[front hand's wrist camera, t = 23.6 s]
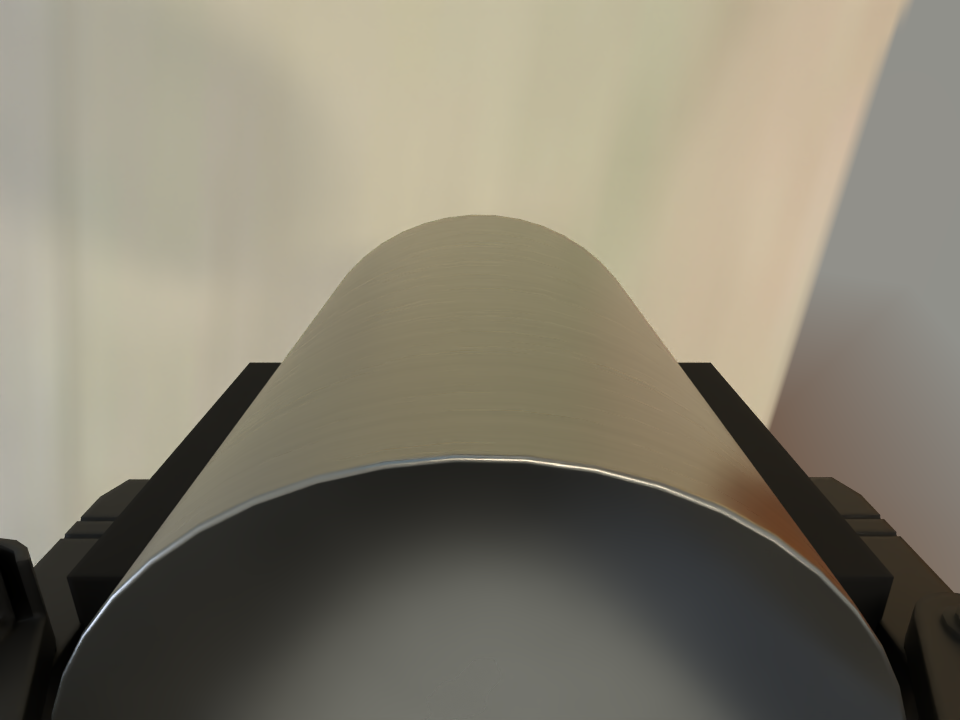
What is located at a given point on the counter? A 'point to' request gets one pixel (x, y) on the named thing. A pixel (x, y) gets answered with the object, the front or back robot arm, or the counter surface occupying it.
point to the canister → (479, 525)
